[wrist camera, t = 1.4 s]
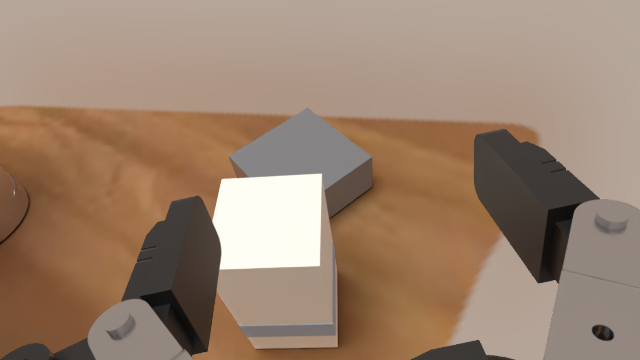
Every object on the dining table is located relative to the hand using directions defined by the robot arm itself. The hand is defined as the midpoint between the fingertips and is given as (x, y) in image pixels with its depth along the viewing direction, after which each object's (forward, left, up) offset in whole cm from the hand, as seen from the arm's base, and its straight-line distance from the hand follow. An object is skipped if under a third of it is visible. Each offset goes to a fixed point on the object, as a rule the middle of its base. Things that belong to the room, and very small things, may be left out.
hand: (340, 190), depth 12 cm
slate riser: (+8, +16, -21) cm, 27 cm away
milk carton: (0, +7, -21) cm, 22 cm away
